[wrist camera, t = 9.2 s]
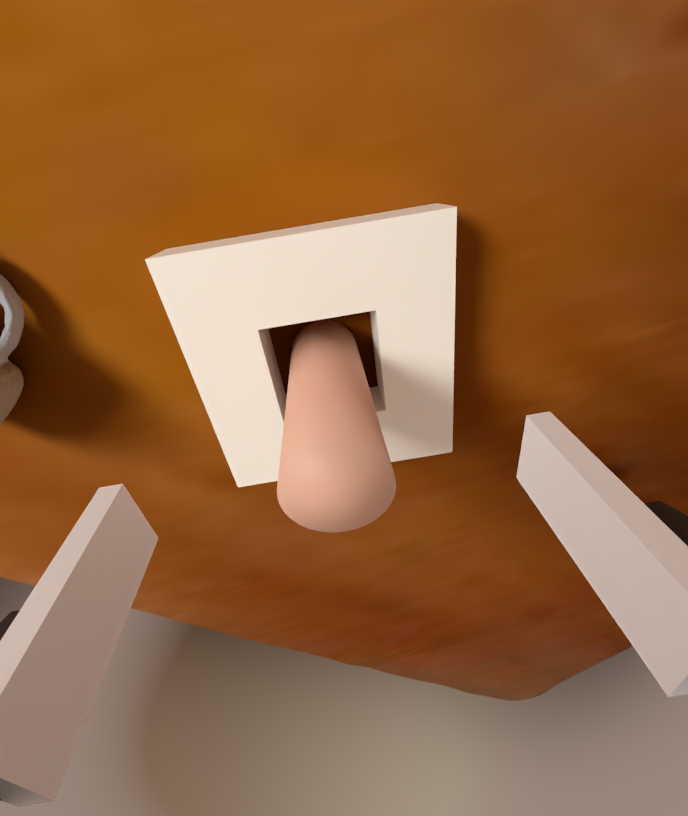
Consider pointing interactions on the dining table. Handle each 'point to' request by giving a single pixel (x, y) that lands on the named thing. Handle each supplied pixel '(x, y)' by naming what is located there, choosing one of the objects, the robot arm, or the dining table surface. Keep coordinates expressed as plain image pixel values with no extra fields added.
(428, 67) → the dining table surface
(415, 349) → the socket block
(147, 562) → the robot arm
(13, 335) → the ceramic mug
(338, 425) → the peg
